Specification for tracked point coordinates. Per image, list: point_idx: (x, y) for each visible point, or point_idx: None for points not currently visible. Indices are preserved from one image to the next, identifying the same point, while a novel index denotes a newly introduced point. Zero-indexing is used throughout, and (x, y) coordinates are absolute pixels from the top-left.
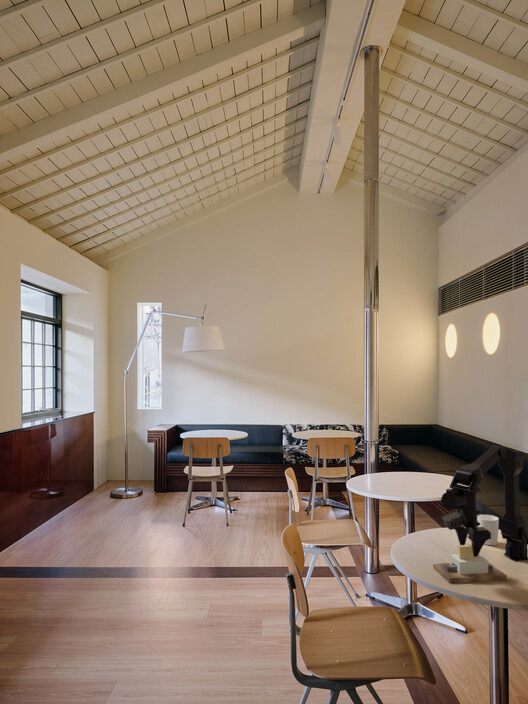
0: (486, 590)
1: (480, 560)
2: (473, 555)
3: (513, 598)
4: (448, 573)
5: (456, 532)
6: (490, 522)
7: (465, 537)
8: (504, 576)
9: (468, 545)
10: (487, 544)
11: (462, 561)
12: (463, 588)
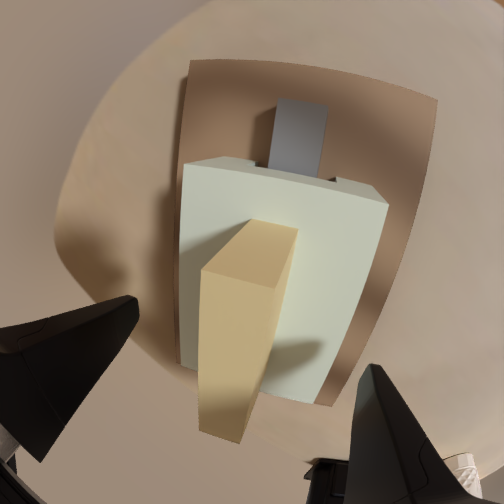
0: (110, 204)
1: (192, 338)
2: (129, 298)
3: (68, 252)
4: (255, 89)
5: (446, 477)
6: None
7: (352, 471)
8: (177, 353)
9: (234, 392)
10: (444, 461)
11: (193, 200)
12: (137, 110)
